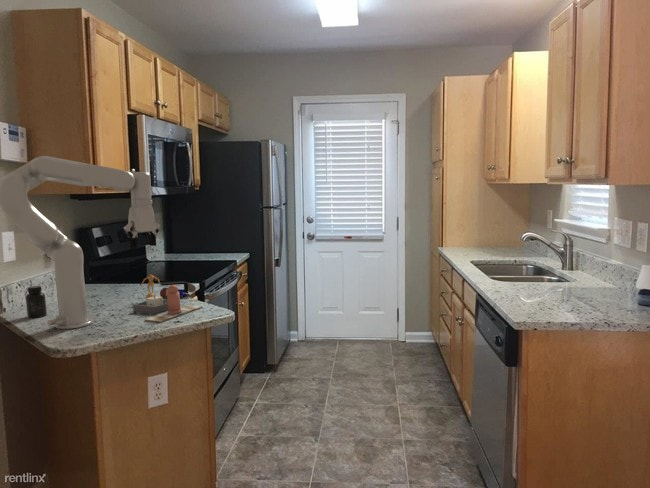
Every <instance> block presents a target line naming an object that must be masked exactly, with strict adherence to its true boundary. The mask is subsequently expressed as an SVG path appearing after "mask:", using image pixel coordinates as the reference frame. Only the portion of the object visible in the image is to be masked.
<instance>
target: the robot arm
mask: <svg viewBox="0 0 650 488" xmlns="http://www.w3.org/2000/svg"><path fill="white" fill-rule="evenodd" d="M46 181H49V182H53V183H55V182H56V183H62V184H67V185H68V184H69V185H74V186H80V187H97V188H99V187H100V188H107V189H112V190H113V191H117V192H122V191H123V192H125V191H130V199H131V200H130V202H131V207H129V210H128V221H127V222H128V223H127V224H126V225H125V226H123V230H124V232H125V234H126V236H127V237H128V238H129V247H130V249H137V248H138V238H137V235H138V233H140V234H142V233H148V234H149V237H148V240H149V242H148V243H149V246H152V247H153V246H154V247H155V246H157V236H158V234H159V232H160V228H161V224H160V223H158V222H156V219H155V218H156V217H155V212H154V207H153V205H152V204H153V203H154V202H153V200H152V185H151V184H152V183H151V182H152V180H151V174H150V173H149V172H148V171H146V172H145V171H134V172H130V171H128V170H124V169H120V168H119V169H118V168H115V167H108V166H102V165H97V164H96V165H95V164H91V163H86V162H80V161H75V160H69V159H64V158H59V157H55V156H54V157H53V156H48V155H40V156H37V157H35V158H33V159H32V160H30V161H28V162H27V163H25V164H24V165H22V166H20V167H18V168H16V169H15V170H13V171H11V172H9V173H7V174H5V175H4V176H2V178H1V179H0V207H1V208H0V209H1V210H2V212H3V213H4V214H5V216H6V217H8V219H9V220H10V221H11V222H13V224H14V225H16V226H17V227H18V228H19V229H20V230H21V231H22V232H23V233H24V234H25V236H26V238H27V239H28V240H29V241H30V243H33V245H35V246H36V247H37V248H38V249H39V250H40V251H42V252H43V253H44V254H45V255H46V256H47V257H48V258H49V259H51V260H52V261H53V262H54V280H55V286H56V297H57V307H58V314H56V317H55V318H53V319H50V320H47V321H46V323H47V326H49V327H51V326H53V325H55V328H56V329H59V330H71V329H77V328H83V327H86V326H88V325H91V324H93V322H94V320H93V318H92V317H89V315H88V314H89V313H88V305H87V293H86V284H85V274H84V273H85V271H84V262H85V261H84V252H83V249H82V247H81V246H80V245H79V244H78V243H77V242H76V241H73V240H70V238H68V237H67V236H66V235H64V233H62V231H60V230H59V229H58V226H57V225H56V224H55V223H54V222H52V221H51V220H50V219H48V218H47V217H46V216H45V215H44V214H43V213H41V212H40V211H39V210H38V209H37V207H35V206H34V205H33V204H32V203H31V201H29V198H28V197H29V196H28V193H29V192H30V191H31V190H33V189H35V188H36V187H38V186H40V185H41V184H43V183H44V182H46Z"/></svg>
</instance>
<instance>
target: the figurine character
mask: <svg viewBox="0 0 650 488" xmlns="http://www.w3.org/2000/svg"><path fill="white" fill-rule="evenodd" d="M170 285H176V286H179V285H183V288H182V289H181V288H180V289H179V288H178V292H179V295H180V297H191V294H190V293H194V292H196V286H195V285H194V284H193V283H191V282H187V281H185V280H183V281H182V280H181V281H179V280H178V281H167V282H165V281H164V282H160V285H159V286H162V287H163V286H170ZM167 293H168V287H163V288H161V289H160V291H159V295H160V296H159V297H163V299H168V298H167Z"/></svg>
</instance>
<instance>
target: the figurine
mask: <svg viewBox="0 0 650 488" xmlns="http://www.w3.org/2000/svg"><path fill="white" fill-rule="evenodd" d="M147 279H148V282H147V287H146V288H147V290H148V293H147V294H146V296H145V299H147V298H150V297H153V296H156V295H155V294H154V286H155V282H154V279H155V280H157V281H158V285H159V286H161V285H160V283H161V282H160V279H159V277H156V276H154V275H153V274H148V276H147V277H146V278H143V281H142V282H141V284H140V285H141V287H142V286H143V284H144V282H145V281H146V280H147ZM150 287H151V288H150Z"/></svg>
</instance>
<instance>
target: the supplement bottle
mask: <svg viewBox="0 0 650 488" xmlns="http://www.w3.org/2000/svg"><path fill="white" fill-rule="evenodd" d="M42 290H43V289H42V286H41V285H33V286H28V287H27V294H26V295H25V304H26V305H25V306H26V313H27V315H26V316H27V318H29V319H39V318H44V317H46V316H47V314H48V311H47V302H46V294H45V293H44V292H42Z"/></svg>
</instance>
